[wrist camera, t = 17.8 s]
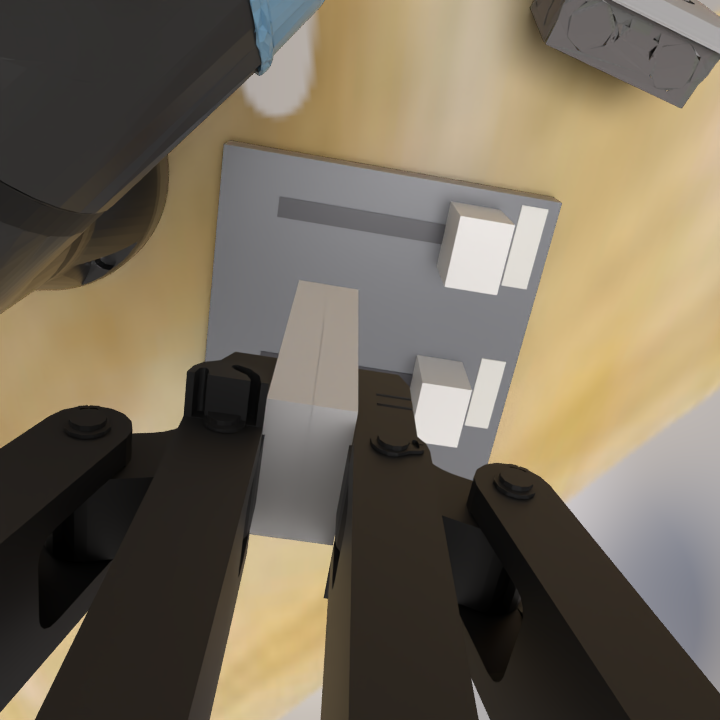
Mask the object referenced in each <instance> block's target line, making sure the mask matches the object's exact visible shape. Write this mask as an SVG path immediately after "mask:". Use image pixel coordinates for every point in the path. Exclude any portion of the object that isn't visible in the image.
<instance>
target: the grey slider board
mask: <svg viewBox="0 0 720 720" xmlns="http://www.w3.org/2000/svg"><path fill="white" fill-rule="evenodd" d="M561 205H562V203H561V202H560V201H558V200H557V199H555V198H554V197H550V196H545V195H539V194H533V193H528V192H522V191H516V190H511V189H505V188H499V187H493V186H488V185H482V184H476V183H471V182H465V181H459V180H453V179H448V178H442V177H436V176H431V175H425V174H419V173H413V172H408V171H402V170H396V169H391V168H385V167H379V166H373V165H368V164H362V163H356V162H351V161H345V160H339V159H333V158H328V157H322V156H316V155H311V154H305V153H299V152H293V151H288V150H282V149H276V148H271V147H265V146H259V145H253V144H248V143H242V142H236V141H231V140H230V141H228V142H226V143H225V144H224V149H223V161H222V172H221V184H220V195H219V207H218V218H217V230H216V242H215V253H214V265H213V276H212V288H211V299H210V311H209V322H208V334H207V345H206V357H205V362H207V361H216V360H222V359H223V358H225V357H227V356H229V355H230V354H232V353H234V352H242V353H248V354H255V355H261V356H267V357H274V358H278V356H279V352H280V349H281V345H282V341H283V338H284V334H285V330H286V327H287V323H288V319H289V316H290V312H291V308H292V305H293V301H294V298H295V294H296V290H297V287H298V283H299V280H302V281H308V282H314V283H320V284H326V285H333V286H339V287H345V288H351V289H357V290H358V369H363V370H370V371H376V372H383V373H389V374H396V375H399V376H400V377H401V378H402V379H403V380H404V381H405V382H406V383H407V385H408V386H409V387H410V392H411V401H412V405H413V411H414V418H415V424H416V430H417V437H419V438H420V439H421V440H422V441H423V442H425V443H426V444H427V446H428V448H429V450H430V452H431V458H432V463H433V464H434V465H435V466H437V467H439V468H441V469H442V470H444V471H447V472H449V473H452V474H454V475H457V476H460V477H463V478H466V479H469V480H472V481H473V478H474V475H475V473H476V470H477V469H478V468H480V467H482V466H483V465H485V464H488V461H489V457H490V454H491V450H492V447H493V443H494V440H495V436H496V433H497V429H498V426H499V422H500V419H501V415H502V412H503V408H504V405H505V401H506V398H507V394H508V391H509V387H510V384H511V380H512V377H513V373H514V370H515V366H516V363H517V359H518V356H519V352H520V349H521V345H522V342H523V338H524V335H525V331H526V328H527V324H528V321H529V317H530V314H531V310H532V307H533V303H534V300H535V296H536V293H537V289H538V286H539V282H540V279H541V275H542V272H543V268H544V264H545V261H546V257H547V254H548V250H549V247H550V243H551V240H552V236H553V233H554V229H555V226H556V222H557V219H558V215H559V212H560V208H561Z"/></svg>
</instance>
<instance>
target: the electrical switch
mask: <svg viewBox="0 0 720 720" xmlns="http://www.w3.org/2000/svg"><path fill="white" fill-rule="evenodd" d="M530 9H531V11H532V14H533V16H534V19H535V21H536V24H537V26H538V29H539V31H540V34H541V36H542V39H543V41H544V42H545V41H546V39H547V37H548V35H549V34H550V35H549V37H548V39H547V41H546V43H545V44H546V45H548V46H550V47H552V48H555V49H557V50H559V51H561V52H563V53H565V54H567V55H569V56H571V57H574V58H576V59H578V60H580V61H582V62H584V63H586V64H588V65H590V66H593V67H595V68H597V69H599V70H601V71H603V72H605V73H607V74H609V75H612V76H614V77H616V78H618V79H620V80H622V81H624V82H626V83H628V84H631V85H633V86H635V87H637V88H639V89H641V90H643V91H645V92H647V93H650V94H652V95H654V96H656V97H658V98H660V99H662V100H664V101H666V102H669V103H671V104H673V105H675V106H677V107H679V108H682V107H683V106H684V105H685V103H686V102H687V100H688V99H689V97H690V96H691V94H692V93H693V92H694V90H695V89H696V87H697V86H698V85H699V84H700V83H701V82H702V81H703V80H704V79H705V78H706V77H707V76H708V74H709V73H710V71H711V70H712V69H713V67H714V66H715V64H716V63H717V62H718V61H719V60H720V17H719V16H718V15H717V14H715V13H714V12H713V11H711V10H710V9H709V8H708V7H706V6H705V5H704V4H702V3H701V2H699V1H698V0H534V1H533V3H532V5H531V7H530ZM556 21H557V22H556ZM555 23H556V24H555ZM554 25H555V26H554ZM553 27H554V28H553ZM552 28H553V30H552ZM551 30H552V32H551ZM550 32H551V33H550ZM617 36H618V37H619V38H618V37H617ZM604 43H606V45H603V44H604ZM575 46H576V47H577V48H578V49H579V50H580V51H578V50H577V48H576V47H575ZM651 56H652V57H651ZM649 59H650V60H649ZM650 75H651V77H650ZM666 90H668V91H666Z"/></svg>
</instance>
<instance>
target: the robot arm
mask: <svg viewBox="0 0 720 720" xmlns="http://www.w3.org/2000/svg"><path fill="white" fill-rule="evenodd" d="M324 1H325V0H0V314H1V313H3V312H4V311H5V310H7V309H8V308H10V307H11V306H13V305H14V304H16V303H17V302H18V301H20V300H21V299H23V298H24V297H26V296H27V295H29V294H30V293H31V292H33V291H34V290H64V289H71V288H76V287H80V286H83V285H86V284H89V283H92V282H95V281H97V280H100V279H102V278H104V277H106V276H107V275H109V274H111V273H112V272H114V271H116V270H117V269H118V268H120V267H121V266H122V265H123V264H125V263H126V262H127V261H128V260H129V259H131V258H132V257H133V256H134V255H135V254H136V253H137V252H138V251H139V250H140V249H141V248H142V247H143V246H144V245H145V243H146V242H147V241H148V240H149V238H150V237H151V235H152V233H153V232H154V230H155V228H156V226H157V224H158V222H159V220H160V218H161V215H162V212H163V209H164V205H165V201H166V196H167V190H168V159H167V154H168V153H169V152H171V151H172V150H173V149H174V148H175V147H176V146H177V145H178V144H179V143H180V142H181V141H182V140H183V139H184V138H185V137H186V136H188V135H189V134H190V133H191V132H192V131H193V130H194V129H195V128H196V127H197V126H198V125H199V124H200V123H201V122H202V121H204V120H205V119H206V118H207V117H208V116H209V115H210V114H211V113H212V112H213V111H214V110H215V109H216V108H217V107H218V106H220V105H221V104H222V103H223V102H224V101H225V100H226V99H227V98H228V97H229V96H230V95H231V94H232V93H233V92H234V91H235V90H237V89H238V88H239V87H240V86H241V85H242V84H243V83H244V82H245V81H246V80H247V79H248V78H249V77H250V76H251V75H253V73H256V74H257V75H259V76H260V75H262V74H264V73H265V72H266V71H267V70H268V68H269V67H270V66H271V63H272V60H273V56H274V54H275V53H276V52H277V51H278V50H279V49H280V48H281V47H282V46H283V45H284V44H285V43H286V42H287V41H288V40H289V39H290V38H291V37H292V36H293V34H295V32H296V31H297V30H298V29H299V28H300V27H301V26H302V25H303V24H304V23H305V22H306V21H307V20H308V19H309V18H310V17H311V16H312V15H313V14H314V13H315V12H316V11H317V10H318V9H319V8H320V6H321V5H322V4H323V2H324ZM249 532H250V533H249ZM249 534H253V535H260V536H268V537H275V538H283V539H290V540H297V541H305V542H312V543H319V544H327V545H333V542H334V547H333V552H332V557H331V562H330V568H329V573H328V578H327V583H326V588H325V594H324V598H327V599H328V608H327V625H326V641H325V658H324V674H323V690H322V707H321V720H479V719H478V715H477V708H476V703H475V698H474V692H473V687H472V681H471V678H472V680H473V683H474V685H475V687H476V689H477V692H478V694H479V696H480V698H481V700H482V703H483V705H484V707H485V709H486V711H487V714H488V716H489V718H490V720H720V693H719V692H718V691H717V690H716V688H715V687H714V686H713V685H712V683H711V682H710V681H709V680H708V679H707V677H706V676H705V675H704V674H703V672H702V671H701V670H700V669H699V668H698V666H697V665H696V664H695V663H694V661H693V660H692V659H691V658H690V656H689V655H688V654H687V653H686V652H685V650H684V649H683V648H682V647H681V646H680V644H679V643H678V642H677V641H676V639H675V638H674V637H673V636H672V634H671V633H670V632H669V631H668V630H667V628H666V627H665V626H664V625H663V623H662V622H661V621H660V620H659V619H658V617H657V616H656V615H655V614H654V612H653V611H652V610H651V609H650V607H649V606H648V605H647V604H646V603H645V601H644V600H643V599H642V598H641V596H640V595H639V594H638V593H637V592H636V590H635V589H634V588H633V587H632V585H631V584H630V583H629V582H628V581H627V579H626V578H625V577H624V576H623V574H622V573H621V572H620V571H619V570H618V568H617V567H616V566H615V565H614V563H613V562H612V561H611V560H610V558H609V557H608V556H607V555H606V554H605V552H604V551H603V550H602V549H601V547H600V546H599V545H598V544H597V543H596V541H595V540H594V539H593V538H592V537H591V535H590V534H589V533H588V532H587V530H586V529H585V528H584V527H583V525H582V524H581V523H580V522H579V521H578V519H577V518H576V517H575V516H574V514H573V513H572V512H571V511H570V509H569V508H568V507H567V506H566V505H565V503H564V502H563V501H562V500H561V498H560V497H559V496H558V495H557V494H556V492H555V491H554V490H553V489H552V487H551V486H550V485H549V484H548V483H547V482H545V481H544V480H543V479H542V478H541V477H539V476H538V475H536V474H534V473H532V472H530V471H529V470H528V469H526V468H523V467H518V466H517V465H513V464H502V463H493V464H485V465H483V466H482V467H480V468H478V469H477V470H476V473H475V475H474V478H473V481H472V480H469V479H466V478H463V477H460V476H457V475H454V474H452V473H449V472H447V471H444V470H442V469H441V468H439V467H437V466H435V465H434V464H433V463H432V458H431V452H430V450H429V448H428V446H427V444H426V443H425V442H423V441H422V440H421V439H420V438H419V437H417V430H416V424H415V418H414V411H413V405H412V401H411V392H410V387H409V386H408V385H407V383H406V382H405V381H404V380H403V379H402V378H401V377H400V376H399V375H396V374H389V373H383V372H376V371H370V370H363V369H358V290H357V289H351V288H345V287H339V286H333V285H326V284H320V283H314V282H308V281H302V280H299V283H298V287H297V290H296V294H295V298H294V301H293V305H292V308H291V312H290V316H289V319H288V323H287V327H286V330H285V334H284V338H283V341H282V345H281V349H280V352H279V356H278V358H274V357H267V356H261V355H255V354H248V353H242V352H234V353H232V354H230V355H229V356H227V357H225V358H223V359H222V360H216V361H207V362H203V363H200V364H197V365H194V366H193V367H192V368H190V369H189V370H188V371H187V379H186V392H185V406H184V417H183V419H182V421H181V423H180V425H179V427H178V428H177V429H174V430H169V431H165V432H156V433H134V434H132V422H131V420H130V419H129V418H128V417H127V416H126V415H125V414H123V413H121V412H118V411H116V410H114V409H110V408H104V407H100V406H92V405H90V406H88V405H86V406H78V407H74V408H69V409H64V410H61V411H59V412H57V413H55V414H53V415H50V416H49V417H47V418H46V419H44V420H43V421H41V422H40V423H38V424H37V425H35V426H34V427H32V428H31V429H29V430H28V431H26V432H25V433H23V434H22V435H20V436H19V437H17V438H16V439H14V440H13V441H11V442H10V443H8V444H7V445H5V446H4V447H2V448H0V712H1V711H2V710H3V709H4V708H5V706H6V705H7V704H8V703H9V702H10V701H11V699H12V698H13V697H14V696H15V695H16V694H17V692H18V691H19V690H20V689H21V688H22V687H23V686H24V684H25V683H26V682H27V681H28V680H29V679H30V677H31V676H32V675H33V674H34V673H35V672H36V670H37V669H38V668H39V667H40V666H41V665H42V664H43V662H44V661H45V660H46V659H47V658H48V657H49V655H50V654H51V653H52V652H53V651H54V650H55V648H56V647H57V646H58V645H59V644H60V643H61V642H62V640H63V639H64V638H65V637H66V636H67V635H68V633H69V632H70V631H71V630H72V629H73V628H74V626H75V625H76V624H77V623H78V622H79V621H80V620H81V618H82V617H83V616H84V615H85V614H86V613H87V614H86V617H85V619H84V621H83V623H82V625H81V627H80V629H79V631H78V633H77V635H76V637H75V639H74V641H73V643H72V645H71V647H70V649H69V651H68V653H67V655H66V657H65V659H64V661H63V663H62V665H61V668H60V670H59V672H58V674H57V676H56V678H55V680H54V682H53V684H52V686H51V688H50V690H49V692H48V694H47V696H46V698H45V700H44V702H43V704H42V706H41V708H40V710H39V712H38V714H37V716H36V719H35V720H210V715H211V711H212V706H213V702H214V697H215V693H216V688H217V684H218V679H219V675H220V671H221V666H222V662H223V657H224V653H225V648H226V644H227V639H228V635H229V630H230V626H231V621H232V617H233V613H234V608H235V604H236V599H237V595H238V590H239V586H240V581H241V577H242V572H243V568H244V563H245V559H246V555H247V548H248V540H249ZM334 536H335V541H334ZM87 611H88V612H87Z"/></svg>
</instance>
